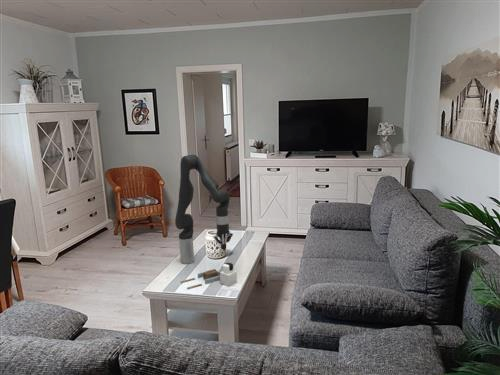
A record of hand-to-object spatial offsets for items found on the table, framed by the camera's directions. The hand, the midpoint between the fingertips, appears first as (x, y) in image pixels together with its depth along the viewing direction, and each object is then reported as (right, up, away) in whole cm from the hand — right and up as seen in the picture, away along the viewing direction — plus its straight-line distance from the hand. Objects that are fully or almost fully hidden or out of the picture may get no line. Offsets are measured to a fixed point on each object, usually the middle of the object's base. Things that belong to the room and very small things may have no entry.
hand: (223, 249), depth 235 cm
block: (-8, -18, -2) cm, 19 cm away
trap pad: (-1, -16, +2) cm, 17 cm away
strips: (-19, -19, -9) cm, 28 cm away
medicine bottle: (+3, -19, -9) cm, 21 cm away
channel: (-8, -17, -2) cm, 19 cm away
